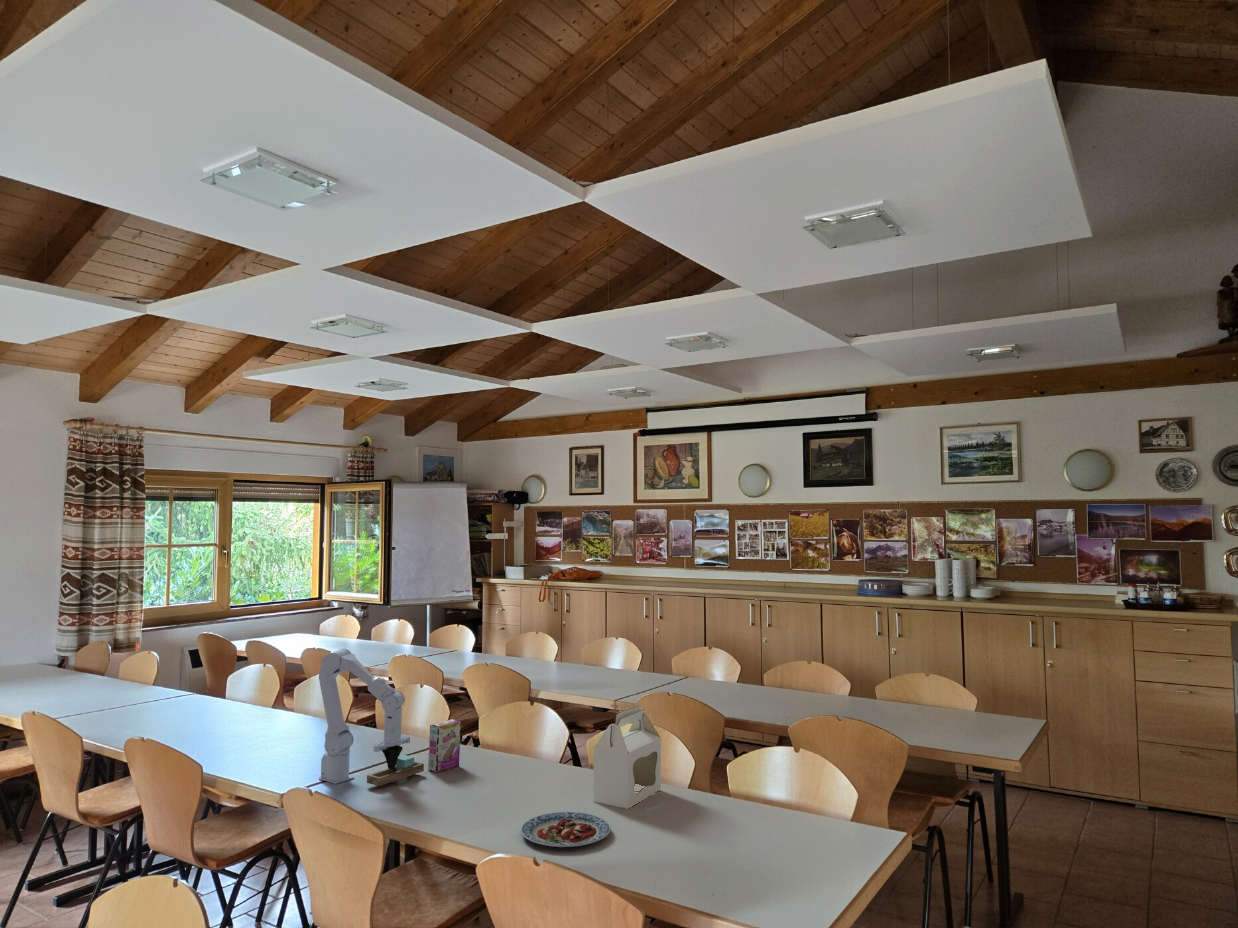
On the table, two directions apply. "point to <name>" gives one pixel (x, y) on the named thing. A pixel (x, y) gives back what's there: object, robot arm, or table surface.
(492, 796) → the table surface
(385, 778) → the wooden tray
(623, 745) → the gable box
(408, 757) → the block
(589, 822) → the ceramic plate
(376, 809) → the table surface
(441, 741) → the candy bar box
